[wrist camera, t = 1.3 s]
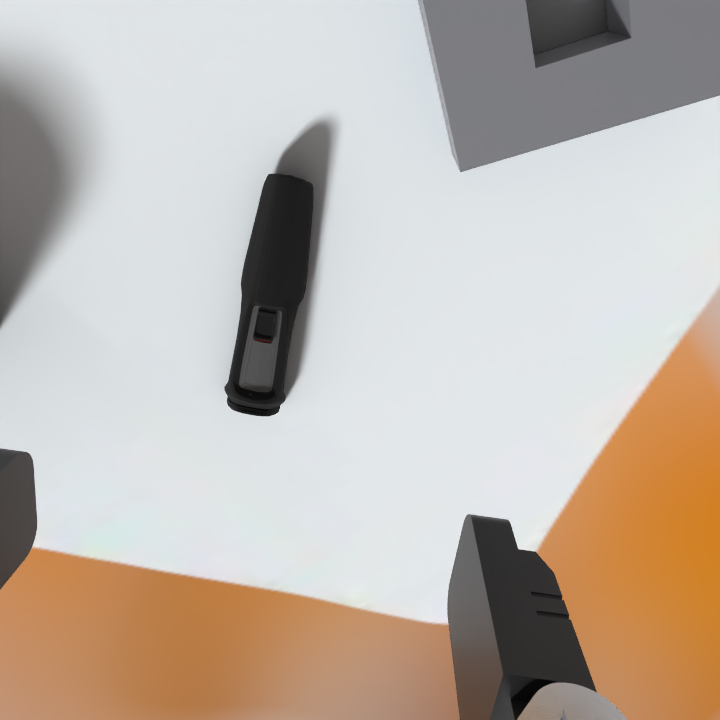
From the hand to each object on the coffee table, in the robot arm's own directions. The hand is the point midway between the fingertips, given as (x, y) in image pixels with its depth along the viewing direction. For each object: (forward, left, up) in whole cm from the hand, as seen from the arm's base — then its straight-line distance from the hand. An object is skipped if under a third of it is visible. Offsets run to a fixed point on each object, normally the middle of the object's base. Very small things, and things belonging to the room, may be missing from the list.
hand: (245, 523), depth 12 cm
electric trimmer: (+7, -5, -25) cm, 26 cm away
